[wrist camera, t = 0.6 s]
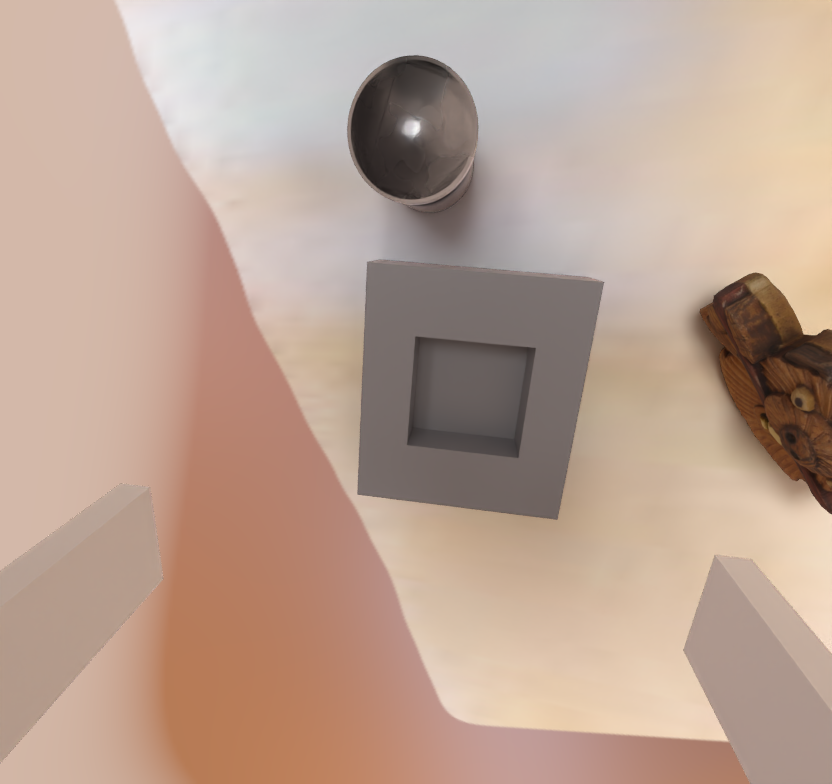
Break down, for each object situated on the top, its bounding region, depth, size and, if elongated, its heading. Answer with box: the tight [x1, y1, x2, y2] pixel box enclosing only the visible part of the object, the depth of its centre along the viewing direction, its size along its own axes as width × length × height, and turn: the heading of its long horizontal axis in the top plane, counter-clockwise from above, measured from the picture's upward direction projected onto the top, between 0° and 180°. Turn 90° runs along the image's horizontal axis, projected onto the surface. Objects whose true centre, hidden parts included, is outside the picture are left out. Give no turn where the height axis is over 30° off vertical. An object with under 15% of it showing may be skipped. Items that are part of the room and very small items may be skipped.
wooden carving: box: [700, 273, 832, 514], centre depth 27 cm, size 16×5×10 cm, turn 39°
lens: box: [347, 55, 478, 212], centre depth 26 cm, size 6×6×10 cm
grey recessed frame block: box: [358, 260, 604, 519], centre depth 32 cm, size 16×14×4 cm
